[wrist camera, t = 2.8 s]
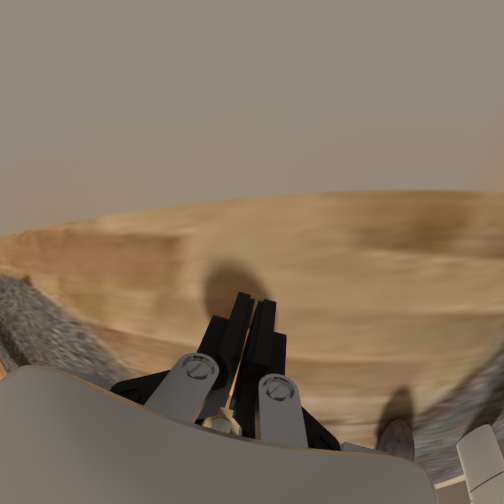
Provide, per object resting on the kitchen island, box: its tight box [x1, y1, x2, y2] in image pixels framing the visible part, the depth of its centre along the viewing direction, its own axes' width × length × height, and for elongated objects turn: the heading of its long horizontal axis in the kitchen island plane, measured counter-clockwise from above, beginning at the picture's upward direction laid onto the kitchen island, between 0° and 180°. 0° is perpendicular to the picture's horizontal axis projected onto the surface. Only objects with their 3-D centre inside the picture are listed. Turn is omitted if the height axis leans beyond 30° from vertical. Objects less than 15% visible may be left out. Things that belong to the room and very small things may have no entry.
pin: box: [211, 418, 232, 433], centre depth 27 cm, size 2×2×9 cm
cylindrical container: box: [456, 424, 504, 504], centre depth 16 cm, size 7×7×25 cm
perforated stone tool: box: [378, 418, 415, 462], centre depth 25 cm, size 15×5×7 cm, turn 14°
